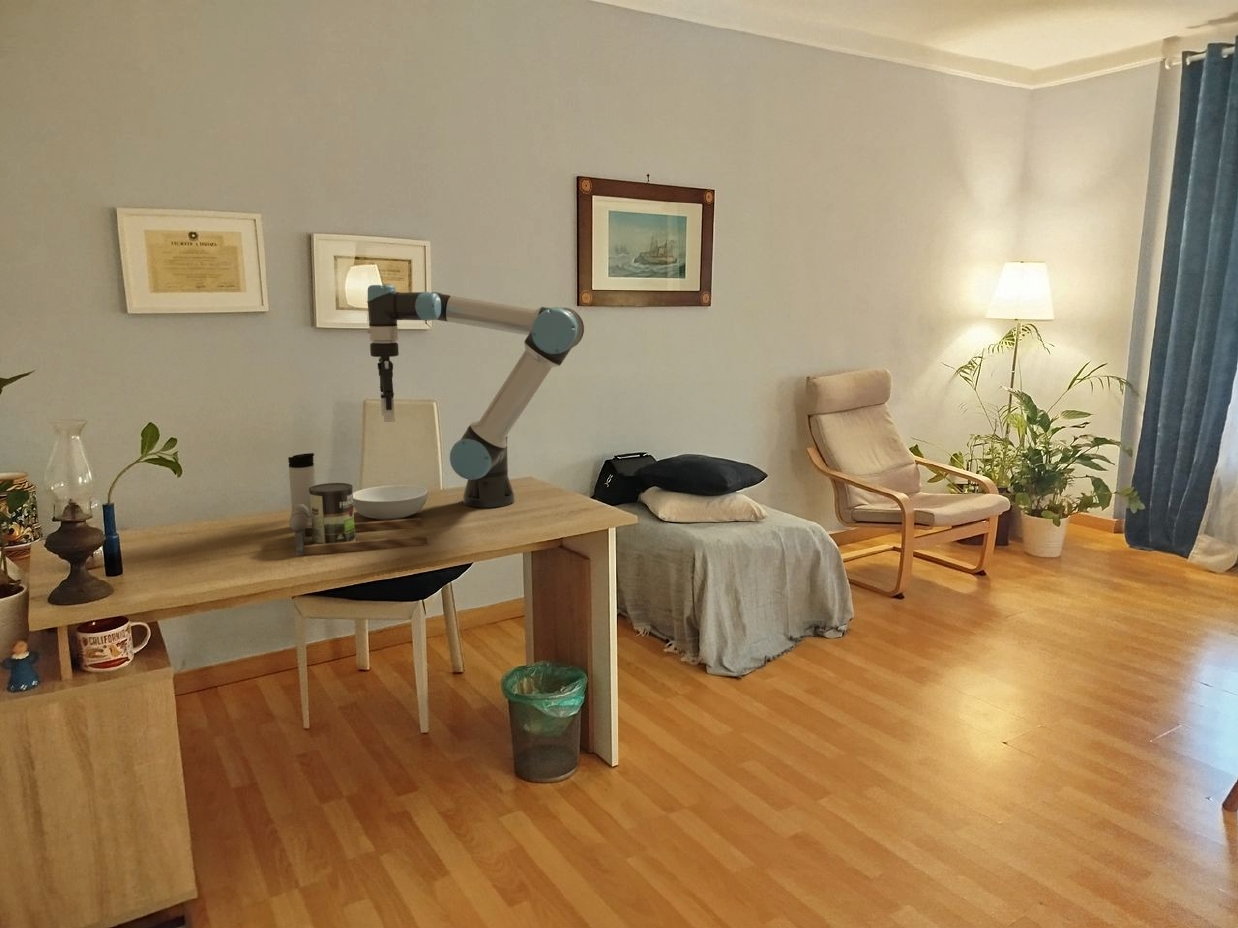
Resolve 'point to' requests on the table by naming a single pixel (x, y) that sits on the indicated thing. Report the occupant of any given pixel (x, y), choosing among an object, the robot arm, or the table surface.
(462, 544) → the table surface
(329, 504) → the coffee can
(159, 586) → the table surface
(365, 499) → the serving bowl
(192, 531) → the table surface
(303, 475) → the travel mug
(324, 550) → the bay
